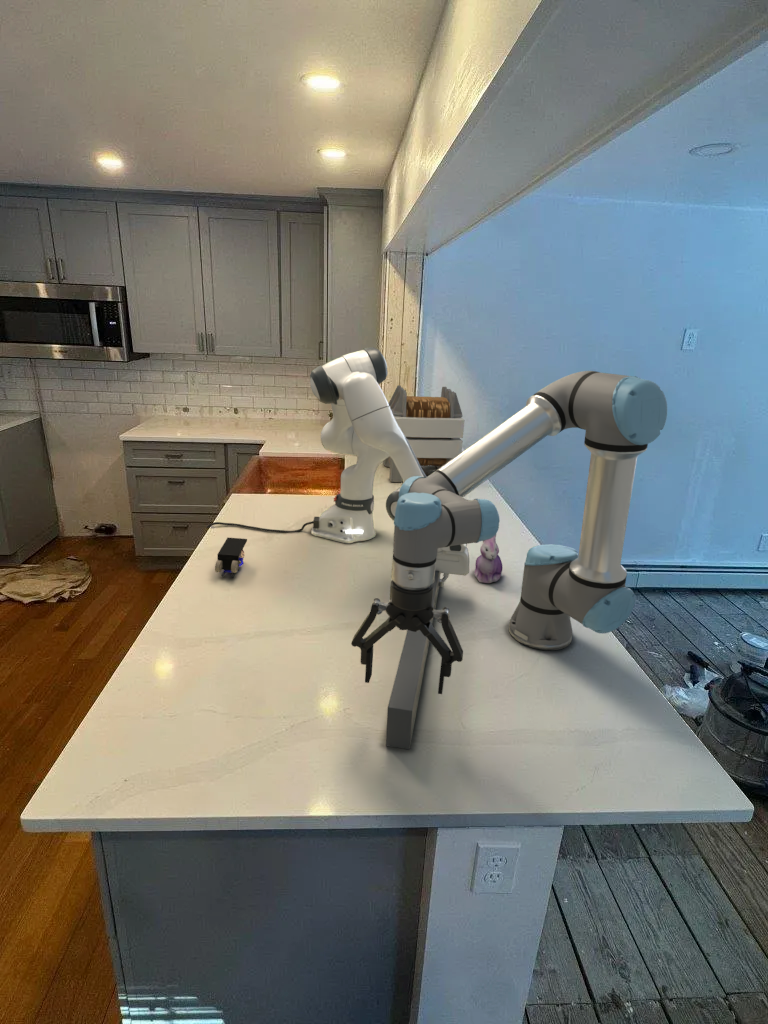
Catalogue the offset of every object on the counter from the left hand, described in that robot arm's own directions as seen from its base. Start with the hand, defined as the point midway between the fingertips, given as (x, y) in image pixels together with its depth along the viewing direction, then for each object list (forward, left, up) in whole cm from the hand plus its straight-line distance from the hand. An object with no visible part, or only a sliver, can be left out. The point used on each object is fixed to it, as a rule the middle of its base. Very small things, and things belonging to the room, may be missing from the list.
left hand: (430, 584), depth 157 cm
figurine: (+14, +17, -3) cm, 22 cm away
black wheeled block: (-59, -5, -3) cm, 59 cm away
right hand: (+5, -53, +6) cm, 54 cm away
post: (+3, -26, -3) cm, 27 cm away
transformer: (-30, +120, -3) cm, 124 cm away
